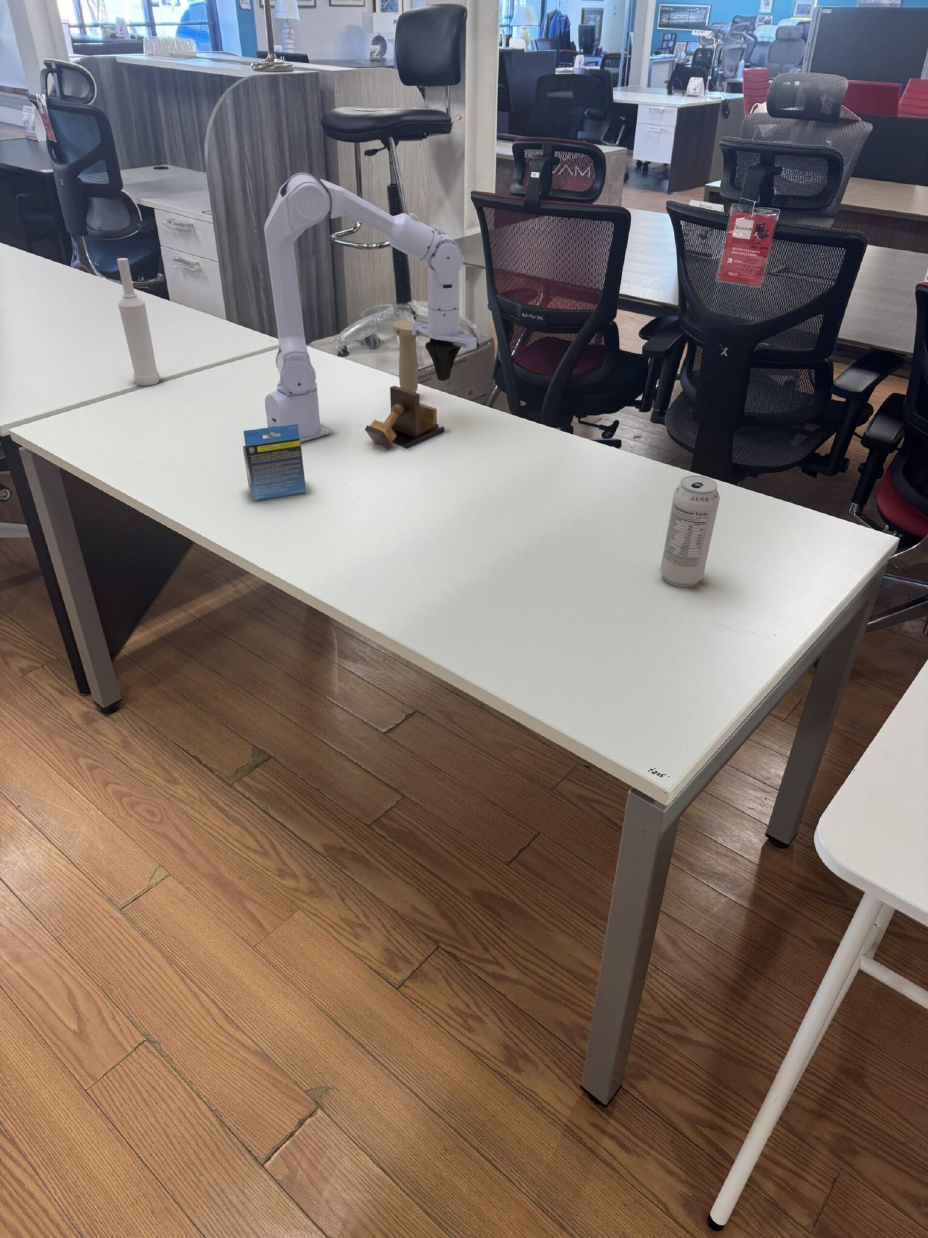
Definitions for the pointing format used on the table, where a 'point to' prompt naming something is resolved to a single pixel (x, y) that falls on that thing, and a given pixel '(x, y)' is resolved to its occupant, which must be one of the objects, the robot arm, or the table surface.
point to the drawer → (412, 413)
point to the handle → (407, 355)
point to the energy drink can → (690, 531)
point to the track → (411, 441)
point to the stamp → (385, 428)
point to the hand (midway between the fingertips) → (443, 378)
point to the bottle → (137, 330)
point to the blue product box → (274, 462)
